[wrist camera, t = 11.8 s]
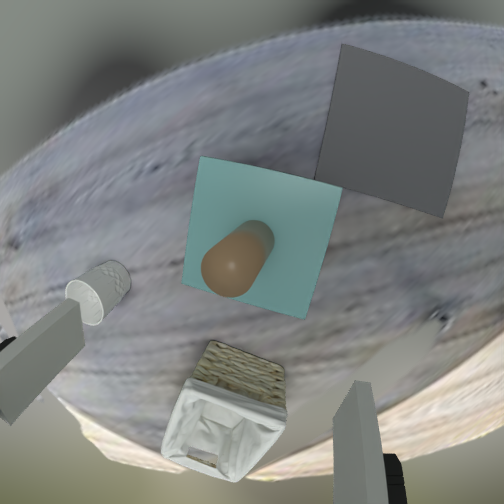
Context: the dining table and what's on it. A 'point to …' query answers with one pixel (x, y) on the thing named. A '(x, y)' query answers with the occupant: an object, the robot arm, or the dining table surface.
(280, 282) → the lid
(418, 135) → the mat
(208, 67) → the dining table surface
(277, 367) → the storage basket
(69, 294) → the white cup
